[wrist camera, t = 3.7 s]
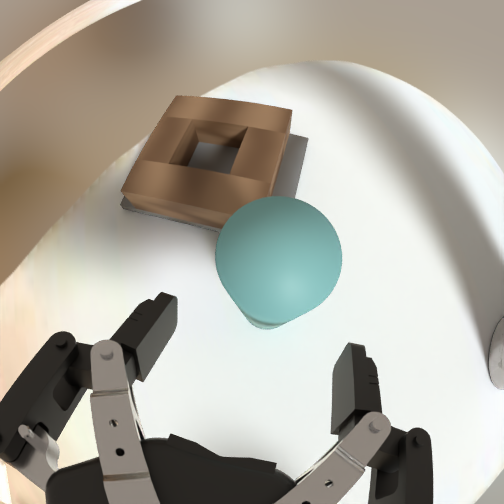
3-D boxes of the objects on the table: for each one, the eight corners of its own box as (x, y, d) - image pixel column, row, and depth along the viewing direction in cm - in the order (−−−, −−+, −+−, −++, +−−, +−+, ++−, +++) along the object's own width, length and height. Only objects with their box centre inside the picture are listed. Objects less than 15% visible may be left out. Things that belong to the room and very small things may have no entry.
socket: (307, 142, 27) (313, 114, 22) (282, 247, 23) (287, 228, 19) (170, 120, 28) (160, 95, 24) (123, 208, 25) (103, 187, 21)
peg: (297, 287, 22) (350, 213, 9) (284, 334, 21) (327, 331, 8) (250, 275, 23) (236, 184, 9) (236, 321, 21) (198, 297, 8)
